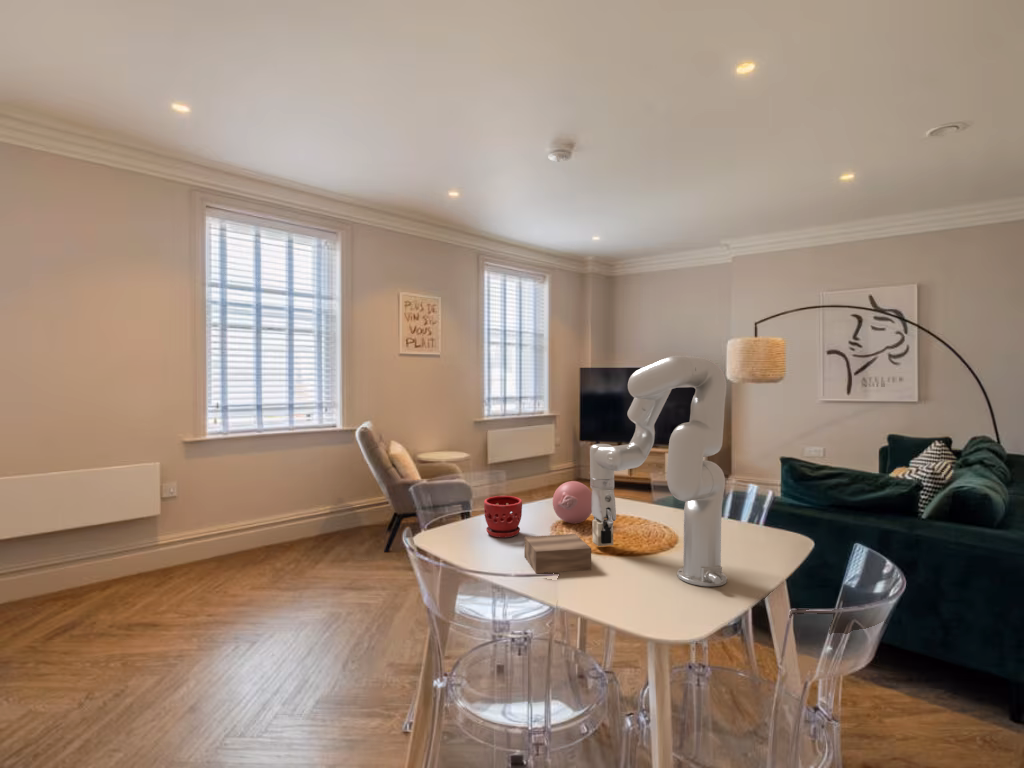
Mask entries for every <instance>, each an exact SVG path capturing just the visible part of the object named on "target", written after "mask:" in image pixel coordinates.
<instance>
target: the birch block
mask: <svg viewBox="0 0 1024 768" xmlns="http://www.w3.org/2000/svg"><path fill="white" fill-rule="evenodd" d="M605 520H607V519H605ZM605 520H604V521H605ZM604 524H607V522H606V523H604ZM601 531H602V523H601V521H600V520H599V519H598V520H594V519H592V543H593V544H595V545H596V546H597V547H607V546H614V524H613V525H612V531H611V543H608V544H602V543H601Z"/></svg>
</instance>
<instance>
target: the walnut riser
mask: <svg viewBox="0 0 1024 768" xmlns="http://www.w3.org/2000/svg"><path fill="white" fill-rule="evenodd" d="M523 554H524V558H525V560H526V561H527V563H528V564H529V566H530V567H531V569H532V570H533V571H534V573H535V574H545V573H544V572H548V573H560V572H573V571H574V572H576V571H591V570H592V547H591V546H590V545H588V543H586V542H585V541H584V540H583V539H582V538H581V537H580V536H579V535H578V534H576V533H570V534H568V533H567V534H552V535H551V534H550V535H548V534H547V535H537V536H535V535H532V536H524V553H523Z"/></svg>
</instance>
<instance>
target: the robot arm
mask: <svg viewBox="0 0 1024 768" xmlns="http://www.w3.org/2000/svg"><path fill="white" fill-rule="evenodd" d="M676 388H678V389H679V388H694V389H695V392H694V395H693V397H692V400H691V403H690V414H689V421H688V422H683V423H681V424H678V425H677V426H676V427H675V428H674V429H673V431H672V433H671V434H670V437H669V441H668V442H669V443H668V450H667V451H668V453H667V465H666V466H667V469H666V483H667V489H668V490H669V493H670V494H671V495H672V496H673V497H674V498H675V499H676V500H678V501H682V502H685V503H684V508H683V509H684V510H683V560H682V561H683V562H682V563H683V567H680V568H679V569H677V577H678V578H679V579H680V580H681V581H683V582H685V583H688V584H690V585H695V586H698V587H699V586H700V587H710V588H711V587H720V586H723V585H725V584H727V582H728V576H727V574H725V573H724V572H723V567H722V516H723V515H722V511H723V510H722V508H723V500H724V494H725V489H726V476H725V474H724V471H723V469H722V468H721V467H720V466H719V465H718V464H717V463H716V462H713V461H711V460H704V458H707V457H711V456H714V455H715V454H718V453H719V452H720V451H721V449H722V447H723V440H724V425H725V424H724V423H725V406H726V395H727V380H726V376H725V373H724V371H723V370H722V369H721V367H720V366H719V365H718V364H717V363H715V362H714V361H713V360H710V359H709V358H706V357H703V356H698V355H697V356H695V355H694V356H693V355H671V356H667V357H665V358H662V359H660V360H658V361H655V362H653V363H650V364H648V365H646V366H644V367H641V368H639V369H637V370H635V371H634V372H633V373H632V374H631V375H630V377H629V378H628V382H627V390H628V393H629V394H630V396H631V397H632V398H633V400H632V402H631V403H630V406H629V408H628V410H627V417H628V419H629V420H630V421H631V422H632V423H634V424H635V430H634V433H633V436H632V438H631V439H630V441H629V442H628V444H620V445H611V444H608V443H595V444H592V445H591V446H590V448H589V475H590V477H589V478H590V479H589V480H590V481H589V484H590V485H589V486H590V488H589V489H591V492H592V498H591V510H592V513H591V515H592V516H593V520H598V519H599V520H600V521H601V523H602V531H601V543H602V544H608V543H611V531H612V525H613V526H614V521H615V522H616V520H617V507H616V506H617V505H616V497H615V496H616V495H615V472H620V471H625V470H630V469H636V468H639V467H640V466H642V465H643V463H645V461H646V460H647V458H648V456H649V455H650V452H651V450H652V448H653V446H654V444H655V436H656V435H655V434H656V431H655V424H656V422H657V420H658V418H659V417H660V416H659V415H660V414H661V412H662V410H663V408H664V406H665V403H666V402H667V399H668V398H669V395H670V394H671V392H672V390H673V389H676ZM605 519H607V520H605ZM604 520H605V521H604ZM606 522H607V524H604V523H606Z"/></svg>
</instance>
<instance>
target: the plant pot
mask: <svg viewBox="0 0 1024 768" xmlns="http://www.w3.org/2000/svg"><path fill="white" fill-rule="evenodd" d="M483 508H484V509H483V511H484V519H485V522H486V524H487V527H486V528H485V529H486V532H487V533H488V534H489V535H490V536H492V537H494V538H495V537H496V538H511V537H514V536H517V535H518V534H519V533H520V531H521V528H520V526H519V525H520V523H521V519H522V516H523V500H522V499H521V498H520V497H518V496H514V495H513V496H512V495H496V496H490V497H487V498H485V499H484V501H483Z"/></svg>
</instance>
